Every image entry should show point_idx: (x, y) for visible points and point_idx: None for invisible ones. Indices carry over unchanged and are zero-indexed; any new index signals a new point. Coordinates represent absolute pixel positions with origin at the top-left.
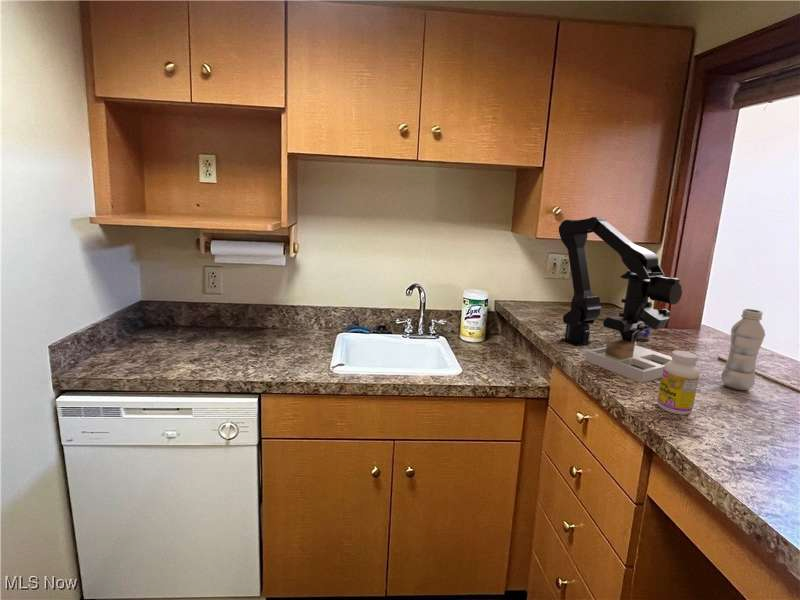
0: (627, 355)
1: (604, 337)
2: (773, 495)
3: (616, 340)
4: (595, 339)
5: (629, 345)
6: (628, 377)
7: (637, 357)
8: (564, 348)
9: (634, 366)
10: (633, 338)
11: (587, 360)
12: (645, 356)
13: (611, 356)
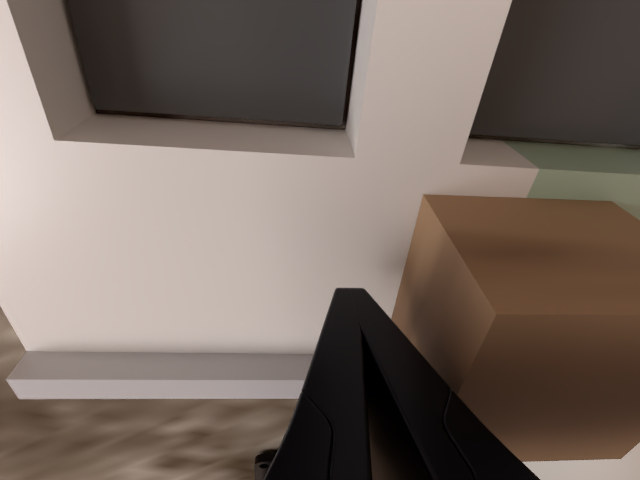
0: (539, 215)
1: (66, 477)
2: None
3: (542, 438)
4: (157, 472)
5: (627, 303)
6: None
7: (387, 161)
8: None
9: (501, 90)
10: (423, 417)
11: None
12: (226, 146)
13: None
